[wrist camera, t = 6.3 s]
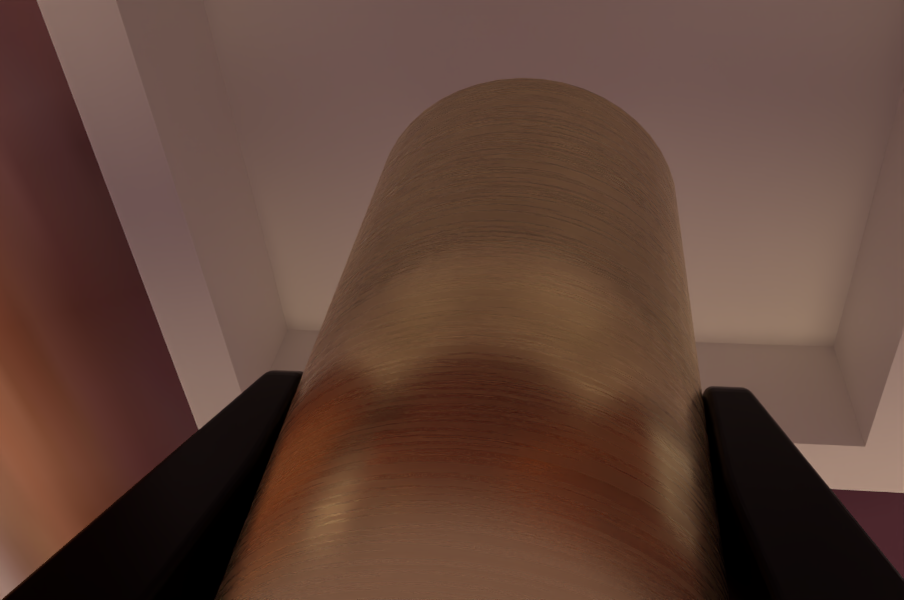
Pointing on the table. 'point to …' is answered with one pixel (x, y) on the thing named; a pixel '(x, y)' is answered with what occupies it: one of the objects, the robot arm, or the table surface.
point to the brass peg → (499, 377)
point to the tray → (506, 57)
